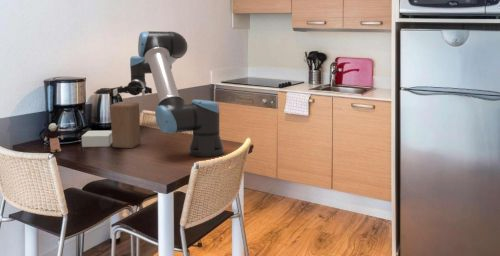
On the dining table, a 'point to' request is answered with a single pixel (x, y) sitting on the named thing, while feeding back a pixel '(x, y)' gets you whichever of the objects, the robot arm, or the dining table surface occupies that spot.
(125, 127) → the wooden block
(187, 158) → the dining table surface
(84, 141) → the base brick
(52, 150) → the grandmother figurine
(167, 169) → the dining table surface
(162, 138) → the dining table surface
